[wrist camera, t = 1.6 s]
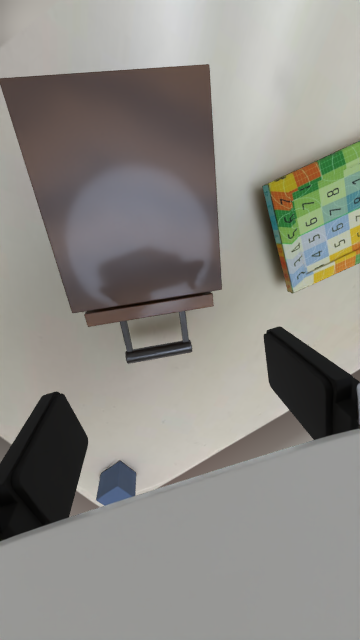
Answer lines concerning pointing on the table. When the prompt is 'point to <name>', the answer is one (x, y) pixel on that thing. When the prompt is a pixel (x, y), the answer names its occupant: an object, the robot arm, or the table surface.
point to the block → (116, 484)
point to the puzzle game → (317, 218)
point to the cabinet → (123, 180)
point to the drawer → (149, 310)
